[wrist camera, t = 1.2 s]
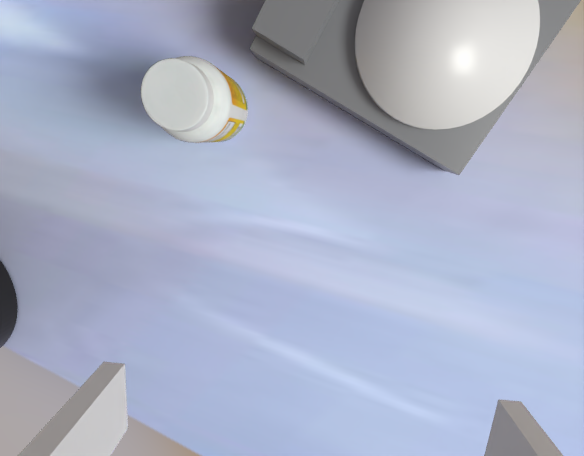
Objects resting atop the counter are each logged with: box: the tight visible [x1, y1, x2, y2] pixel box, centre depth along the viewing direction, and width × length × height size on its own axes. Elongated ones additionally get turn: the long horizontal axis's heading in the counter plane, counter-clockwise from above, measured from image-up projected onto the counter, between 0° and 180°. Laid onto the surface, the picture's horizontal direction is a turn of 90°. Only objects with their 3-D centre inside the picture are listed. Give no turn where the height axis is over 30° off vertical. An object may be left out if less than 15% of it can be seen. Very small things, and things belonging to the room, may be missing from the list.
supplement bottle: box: [141, 56, 248, 143], centre depth 26 cm, size 5×5×10 cm
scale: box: [250, 0, 581, 175], centre depth 26 cm, size 18×14×5 cm
